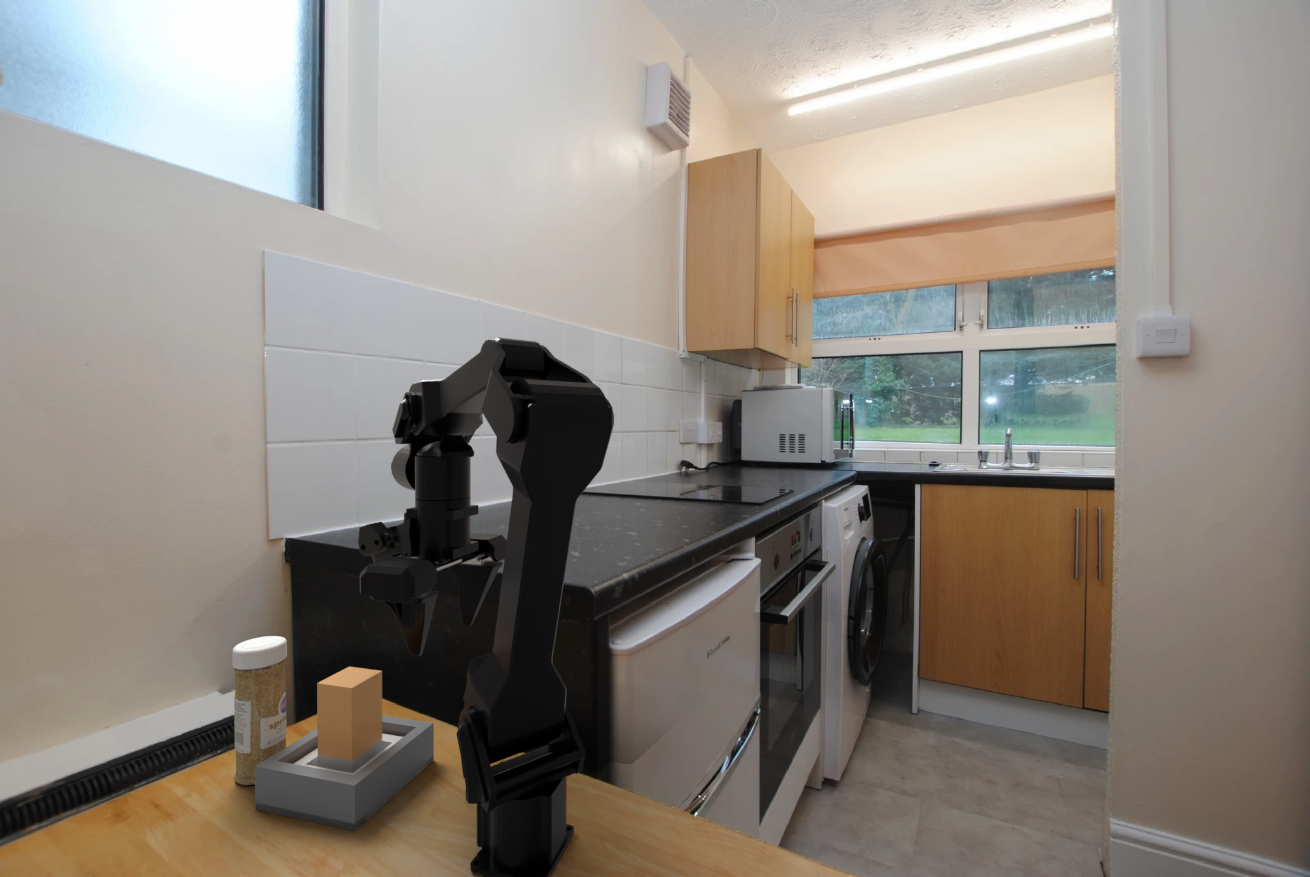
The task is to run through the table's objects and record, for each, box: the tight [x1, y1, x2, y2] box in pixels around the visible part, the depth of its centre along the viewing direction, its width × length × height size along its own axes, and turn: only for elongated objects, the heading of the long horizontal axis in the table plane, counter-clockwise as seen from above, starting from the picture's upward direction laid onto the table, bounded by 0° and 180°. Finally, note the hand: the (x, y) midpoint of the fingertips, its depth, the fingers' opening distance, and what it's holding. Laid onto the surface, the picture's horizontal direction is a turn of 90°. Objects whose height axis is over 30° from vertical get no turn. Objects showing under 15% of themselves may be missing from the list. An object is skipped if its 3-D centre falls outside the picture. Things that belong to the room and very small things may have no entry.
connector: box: [316, 666, 383, 773], centre depth 57 cm, size 4×4×10 cm
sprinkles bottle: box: [231, 635, 288, 786], centre depth 58 cm, size 5×5×14 cm
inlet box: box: [254, 714, 435, 832], centre depth 57 cm, size 11×11×4 cm
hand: (443, 639), depth 63 cm, fingers open, 9 cm apart
